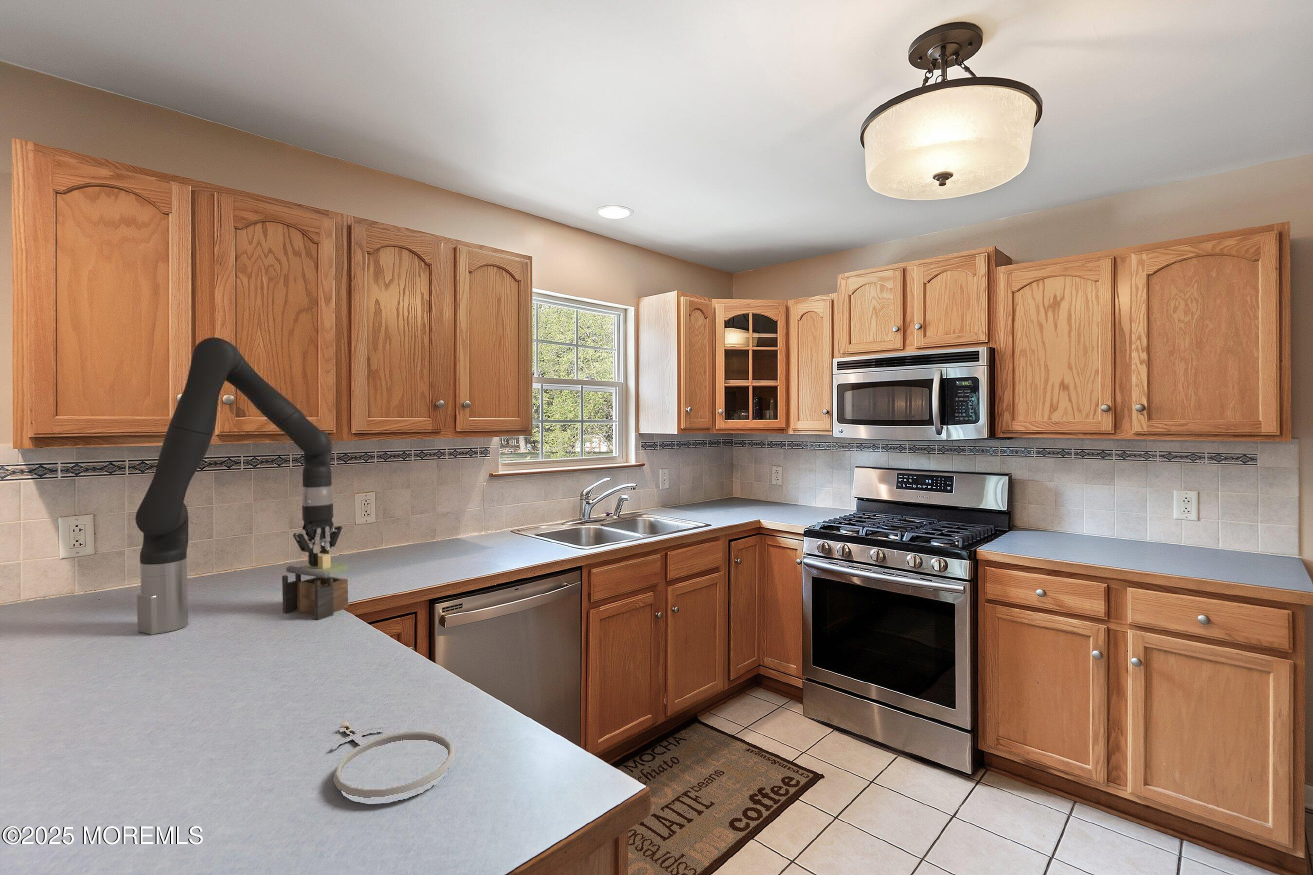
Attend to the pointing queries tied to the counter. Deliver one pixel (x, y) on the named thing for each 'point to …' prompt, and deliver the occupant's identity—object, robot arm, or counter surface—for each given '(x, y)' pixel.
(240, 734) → the counter surface
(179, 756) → the counter surface
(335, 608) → the chest
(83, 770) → the counter surface
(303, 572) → the lid
